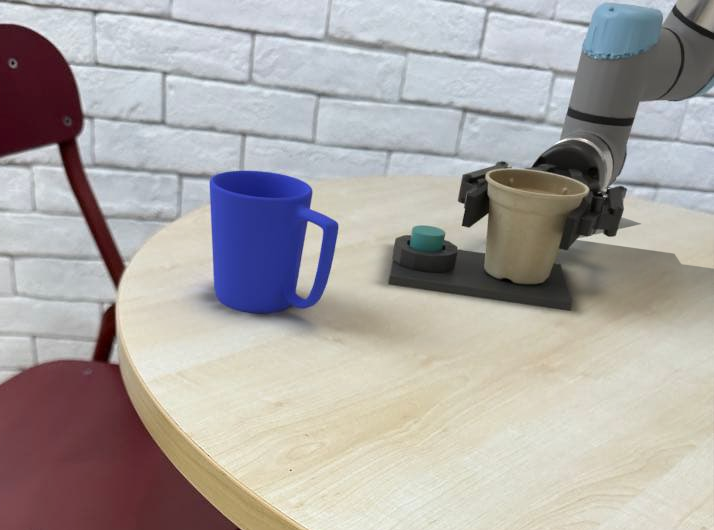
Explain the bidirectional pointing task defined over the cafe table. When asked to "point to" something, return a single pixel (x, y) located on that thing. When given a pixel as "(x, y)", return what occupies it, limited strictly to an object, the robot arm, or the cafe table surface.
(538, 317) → the cafe table surface
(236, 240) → the mug
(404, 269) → the dark grey piece
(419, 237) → the button
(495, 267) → the flower pot
